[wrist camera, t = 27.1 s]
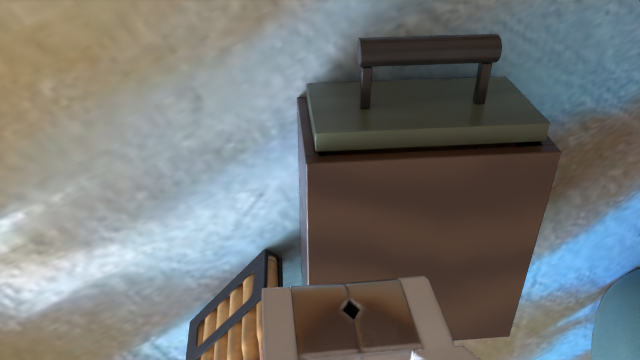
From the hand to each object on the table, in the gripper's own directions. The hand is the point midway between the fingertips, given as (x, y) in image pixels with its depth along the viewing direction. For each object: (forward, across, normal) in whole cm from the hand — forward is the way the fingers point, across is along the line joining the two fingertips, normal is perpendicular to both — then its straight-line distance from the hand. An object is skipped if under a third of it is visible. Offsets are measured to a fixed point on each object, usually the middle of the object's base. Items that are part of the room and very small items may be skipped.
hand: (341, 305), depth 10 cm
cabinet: (+26, -8, +16) cm, 32 cm away
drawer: (+26, -8, +12) cm, 30 cm away
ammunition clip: (+27, +4, +26) cm, 38 cm away
